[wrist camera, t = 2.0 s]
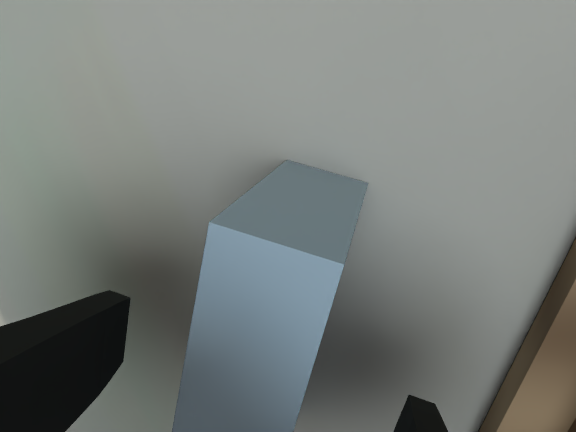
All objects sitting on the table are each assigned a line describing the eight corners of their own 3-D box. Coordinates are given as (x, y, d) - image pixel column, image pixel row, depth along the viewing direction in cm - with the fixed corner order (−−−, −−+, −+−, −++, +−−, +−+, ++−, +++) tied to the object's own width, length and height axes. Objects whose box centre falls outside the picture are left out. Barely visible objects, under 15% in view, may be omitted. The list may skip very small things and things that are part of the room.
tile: (297, 414, 16) (244, 589, 11) (233, 390, 17) (150, 549, 11) (368, 182, 13) (344, 264, 8) (287, 159, 14) (209, 222, 8)
